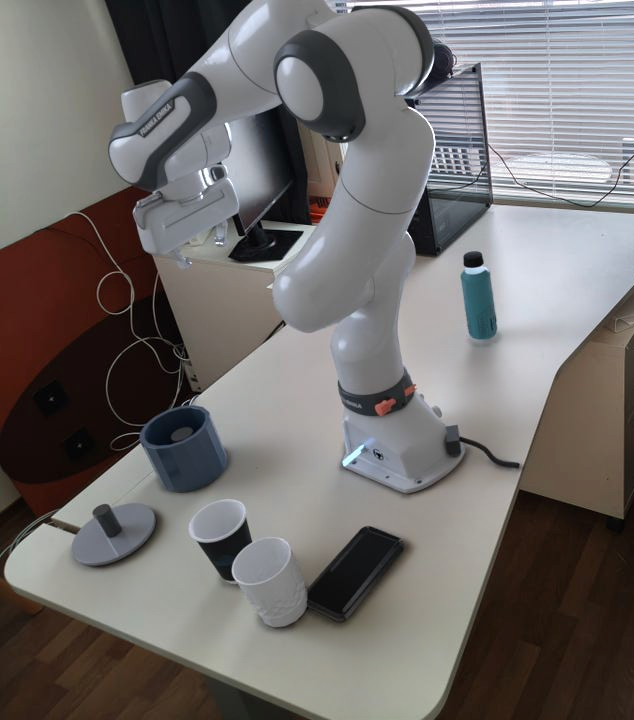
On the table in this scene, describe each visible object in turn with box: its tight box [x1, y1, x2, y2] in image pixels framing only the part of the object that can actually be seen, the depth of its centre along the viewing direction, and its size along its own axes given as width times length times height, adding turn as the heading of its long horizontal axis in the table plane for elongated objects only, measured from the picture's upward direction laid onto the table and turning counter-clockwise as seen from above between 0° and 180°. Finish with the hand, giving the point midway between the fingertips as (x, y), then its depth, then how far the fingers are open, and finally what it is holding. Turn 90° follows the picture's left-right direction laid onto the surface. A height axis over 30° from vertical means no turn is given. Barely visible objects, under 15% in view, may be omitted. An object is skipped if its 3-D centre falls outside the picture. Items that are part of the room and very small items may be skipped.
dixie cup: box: [188, 499, 253, 585], centre depth 100 cm, size 8×8×11 cm
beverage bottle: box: [459, 250, 498, 341], centre depth 145 cm, size 6×7×20 cm
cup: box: [139, 404, 228, 493], centre depth 121 cm, size 12×12×10 cm
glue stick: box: [171, 427, 194, 443], centre depth 121 cm, size 4×4×8 cm
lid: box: [71, 502, 157, 566], centre depth 110 cm, size 13×13×6 cm
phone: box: [306, 525, 405, 623], centre depth 100 cm, size 8×1×15 cm
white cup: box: [232, 536, 308, 628], centre depth 94 cm, size 8×8×10 cm
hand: (204, 256), depth 125 cm, fingers open, 8 cm apart
